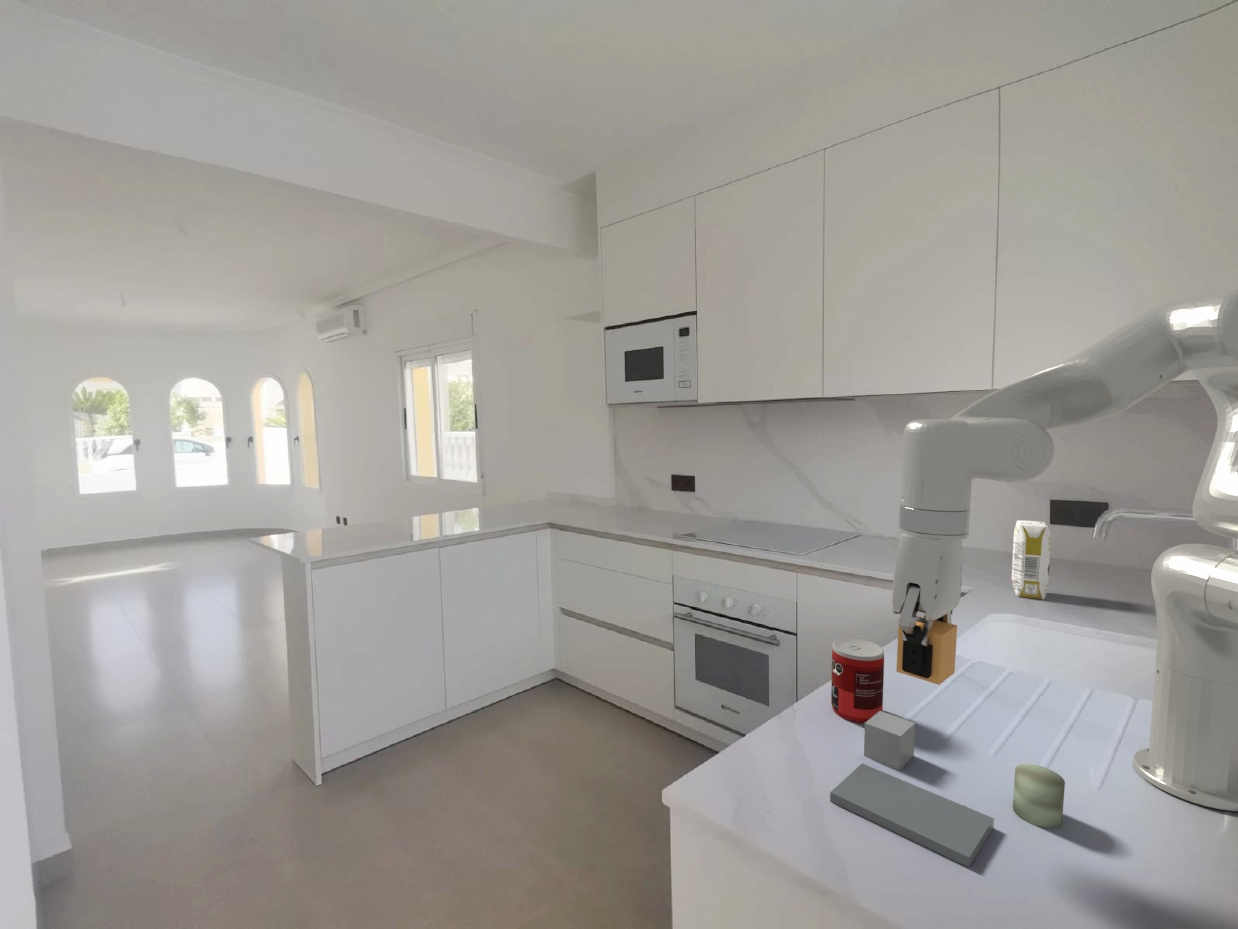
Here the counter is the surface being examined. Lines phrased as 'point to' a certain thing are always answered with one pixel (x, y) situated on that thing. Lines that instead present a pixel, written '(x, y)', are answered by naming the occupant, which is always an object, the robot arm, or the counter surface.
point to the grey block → (889, 740)
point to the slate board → (914, 813)
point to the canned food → (857, 679)
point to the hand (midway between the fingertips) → (925, 666)
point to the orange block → (935, 651)
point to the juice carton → (1031, 559)
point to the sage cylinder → (1038, 795)
